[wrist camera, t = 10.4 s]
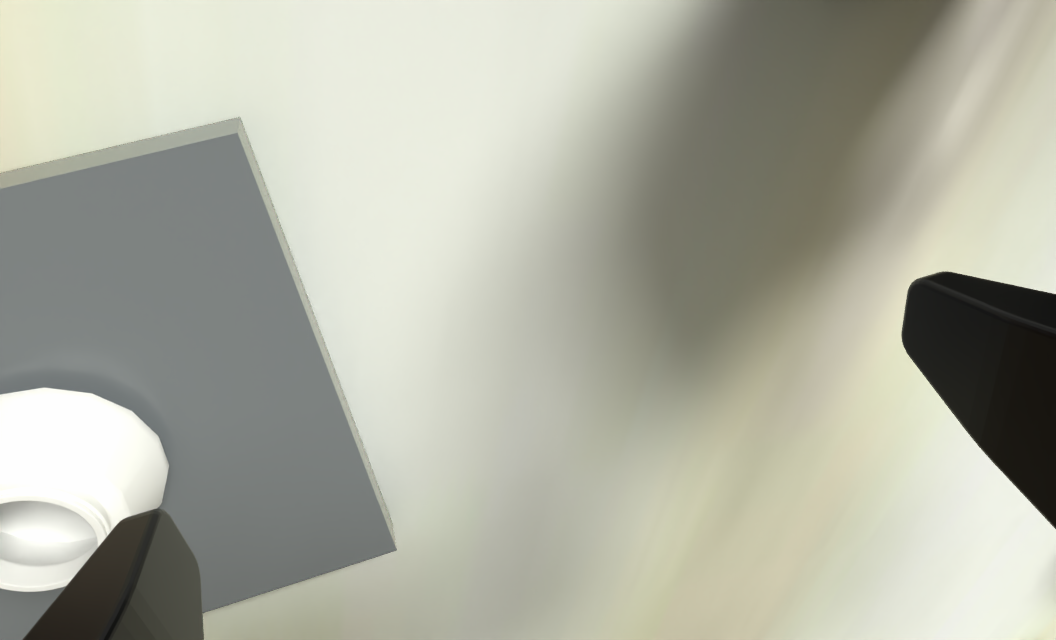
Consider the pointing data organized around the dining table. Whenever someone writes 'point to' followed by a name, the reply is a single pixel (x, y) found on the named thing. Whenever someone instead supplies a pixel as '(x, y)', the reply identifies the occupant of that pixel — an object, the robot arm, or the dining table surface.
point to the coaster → (189, 353)
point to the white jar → (69, 481)
